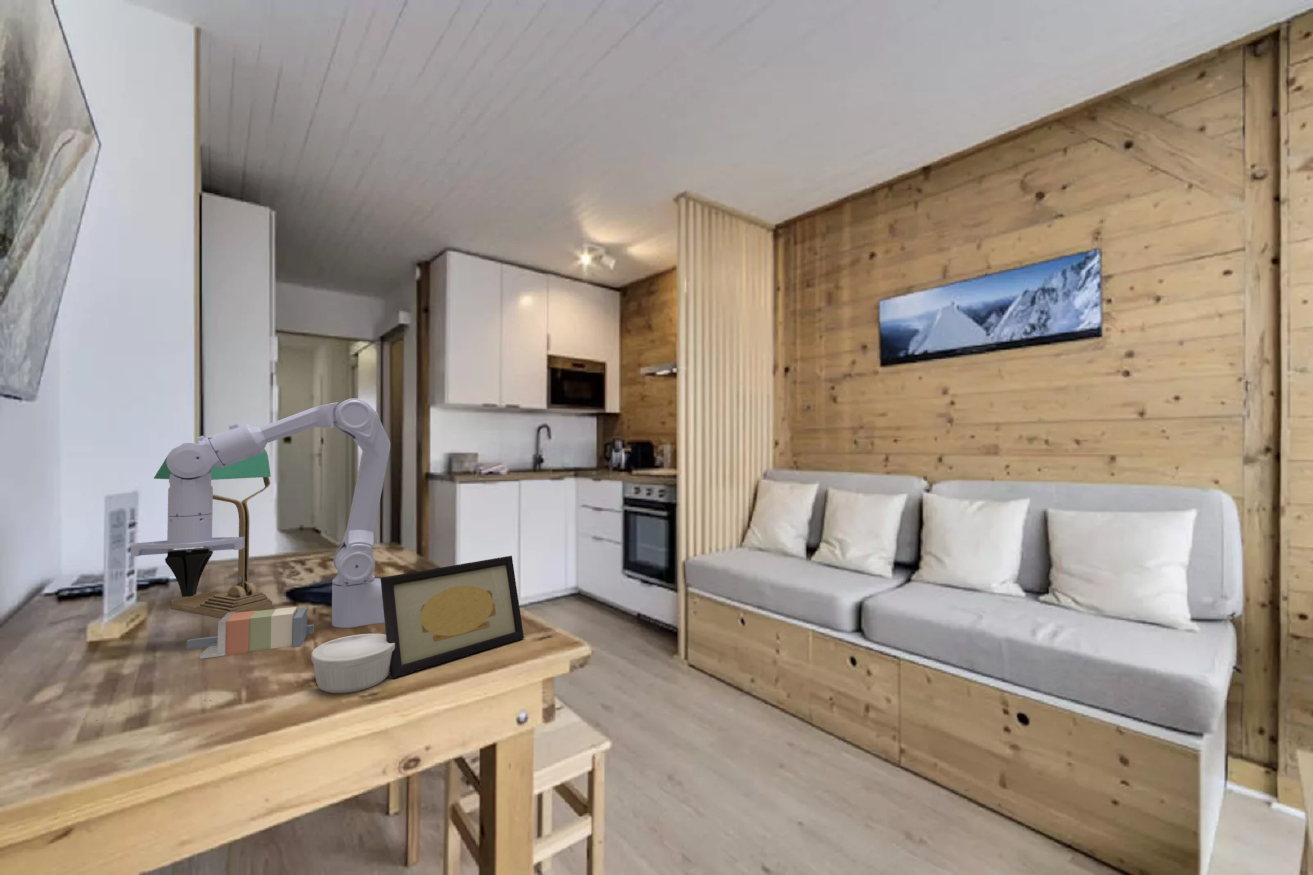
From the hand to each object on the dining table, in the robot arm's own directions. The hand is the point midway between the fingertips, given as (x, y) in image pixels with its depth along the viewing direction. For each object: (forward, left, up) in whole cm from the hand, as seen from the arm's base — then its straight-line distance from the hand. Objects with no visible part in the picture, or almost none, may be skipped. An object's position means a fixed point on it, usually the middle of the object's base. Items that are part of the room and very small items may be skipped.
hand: (189, 595), depth 90 cm
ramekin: (-26, +23, -10) cm, 36 cm away
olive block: (-11, +4, -9) cm, 15 cm away
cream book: (-14, +4, -9) cm, 17 cm away
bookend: (-5, +4, -9) cm, 11 cm away
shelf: (-9, +4, -10) cm, 14 cm away
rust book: (-8, +4, -9) cm, 13 cm away
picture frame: (-40, +17, -10) cm, 45 cm away
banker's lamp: (+3, -30, -10) cm, 32 cm away
